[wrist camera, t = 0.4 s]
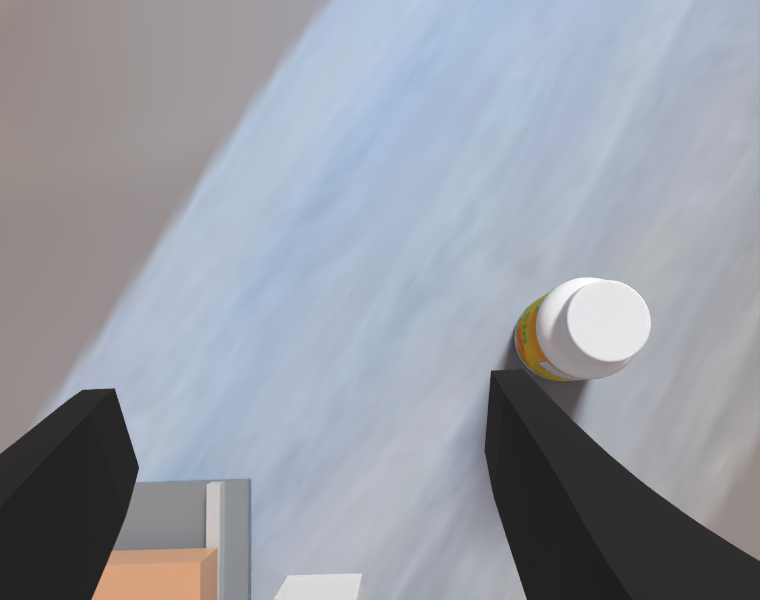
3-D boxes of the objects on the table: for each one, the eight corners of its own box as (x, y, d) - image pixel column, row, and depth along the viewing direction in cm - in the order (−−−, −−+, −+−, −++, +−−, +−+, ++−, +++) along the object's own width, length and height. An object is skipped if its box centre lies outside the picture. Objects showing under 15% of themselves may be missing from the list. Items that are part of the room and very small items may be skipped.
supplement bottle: (532, 283, 38) (576, 247, 29) (611, 317, 38) (682, 291, 28) (499, 360, 38) (534, 348, 28) (580, 395, 37) (642, 396, 28)
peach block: (217, 622, 34) (199, 643, 31) (74, 625, 34) (43, 647, 31) (217, 547, 34) (200, 562, 31) (77, 551, 35) (47, 566, 32)
